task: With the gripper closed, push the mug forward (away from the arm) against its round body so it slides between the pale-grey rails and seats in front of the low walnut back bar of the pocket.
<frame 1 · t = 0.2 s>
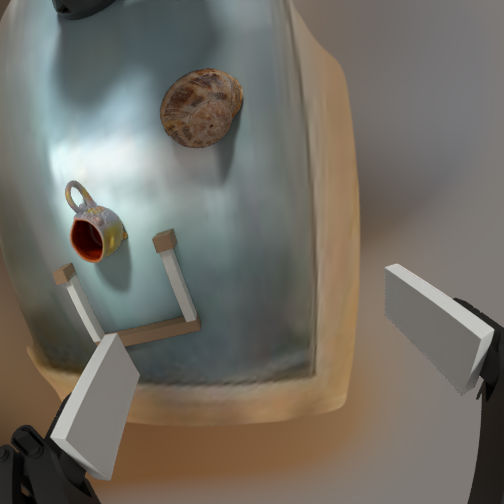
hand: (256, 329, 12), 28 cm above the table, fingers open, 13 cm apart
pocket: (128, 293, 40), on the table
mug: (99, 214, 36), on the table
seashell: (205, 111, 34), on the table
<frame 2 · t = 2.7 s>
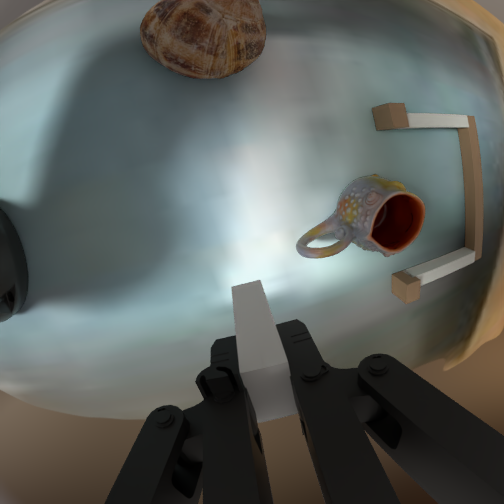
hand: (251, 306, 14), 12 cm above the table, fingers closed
pocket: (435, 195, 27), on the table
mug: (341, 215, 27), on the table
seashell: (202, 41, 20), on the table
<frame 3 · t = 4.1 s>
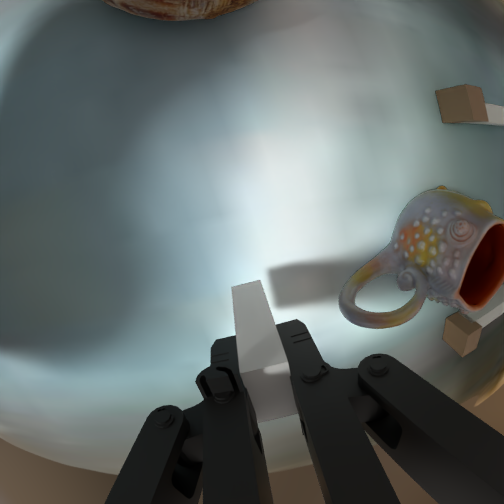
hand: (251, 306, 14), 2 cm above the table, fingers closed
pocket: (499, 213, 17), on the table
mug: (397, 246, 17), on the table
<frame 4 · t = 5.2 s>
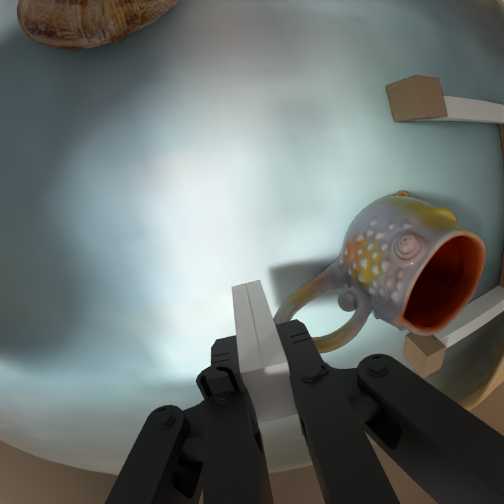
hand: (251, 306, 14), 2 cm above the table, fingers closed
pocket: (473, 220, 17), on the table
mug: (349, 258, 17), on the table, touching gripper
seashell: (112, 2, 10), on the table
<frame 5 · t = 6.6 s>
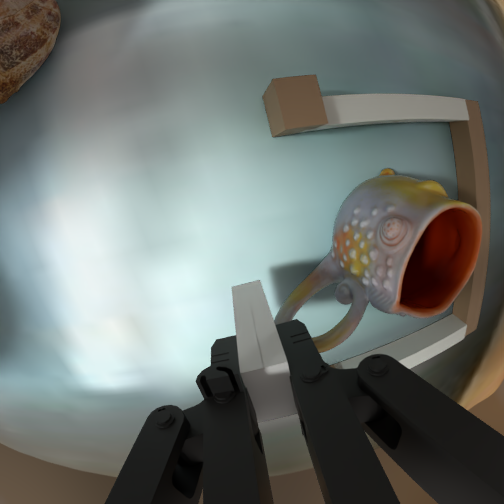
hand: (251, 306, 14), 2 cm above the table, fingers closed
pocket: (403, 244, 17), on the table
mug: (344, 248, 16), on the table, touching gripper
seashell: (17, 53, 10), on the table
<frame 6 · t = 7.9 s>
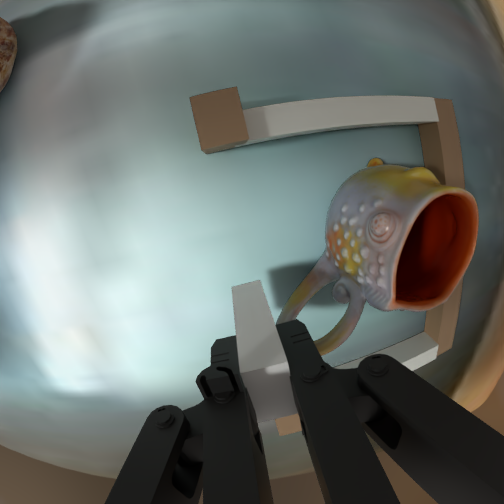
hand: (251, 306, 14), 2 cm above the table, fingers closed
pocket: (359, 261, 16), on the table
mug: (340, 244, 16), on the table, touching gripper
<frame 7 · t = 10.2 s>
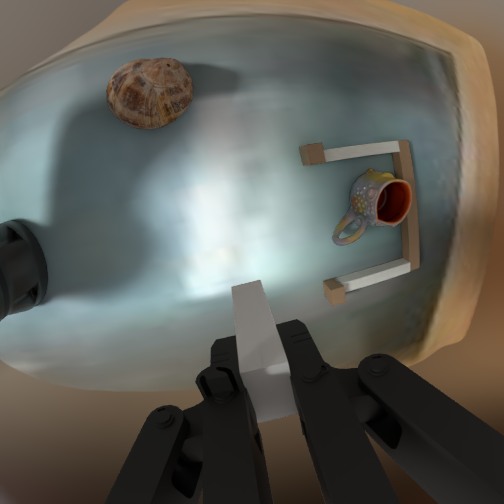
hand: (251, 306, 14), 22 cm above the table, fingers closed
pocket: (364, 214, 36), on the table
mug: (356, 206, 36), on the table
seashell: (153, 94, 30), on the table
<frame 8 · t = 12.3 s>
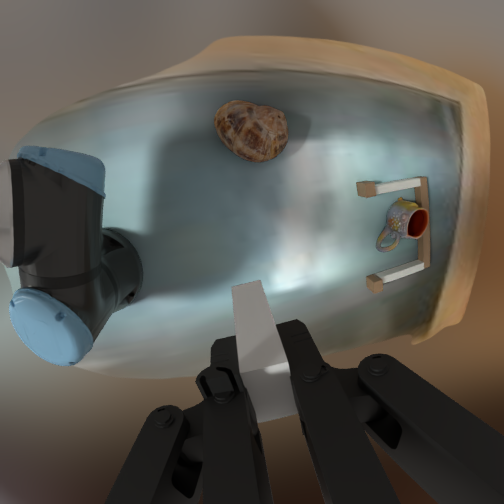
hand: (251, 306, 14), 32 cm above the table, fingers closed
pocket: (395, 229, 49), on the table
mug: (389, 223, 49), on the table
seashell: (250, 130, 42), on the table
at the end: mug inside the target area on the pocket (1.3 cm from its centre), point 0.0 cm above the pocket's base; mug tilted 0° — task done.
